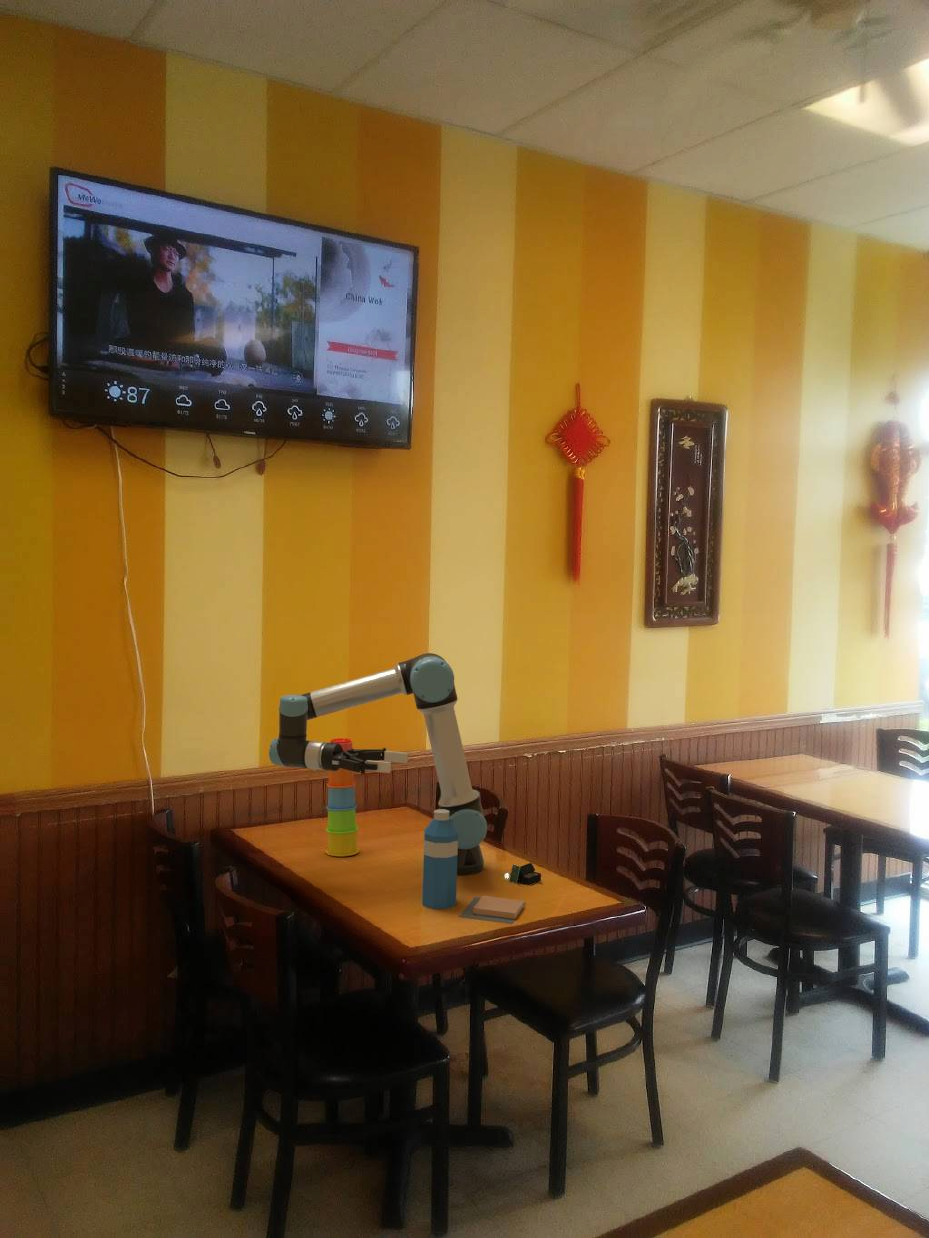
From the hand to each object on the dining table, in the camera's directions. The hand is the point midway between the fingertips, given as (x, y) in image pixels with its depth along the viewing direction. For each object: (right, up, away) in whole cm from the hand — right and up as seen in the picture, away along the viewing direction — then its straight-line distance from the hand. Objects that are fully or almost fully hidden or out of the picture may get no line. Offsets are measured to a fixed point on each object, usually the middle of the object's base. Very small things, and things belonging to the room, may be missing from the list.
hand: (399, 762), depth 272 cm
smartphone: (+35, -37, +18) cm, 54 cm away
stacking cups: (-20, -33, +40) cm, 55 cm away
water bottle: (+11, -37, -4) cm, 39 cm away
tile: (+21, -36, -7) cm, 42 cm away
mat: (+25, -37, -8) cm, 46 cm away
